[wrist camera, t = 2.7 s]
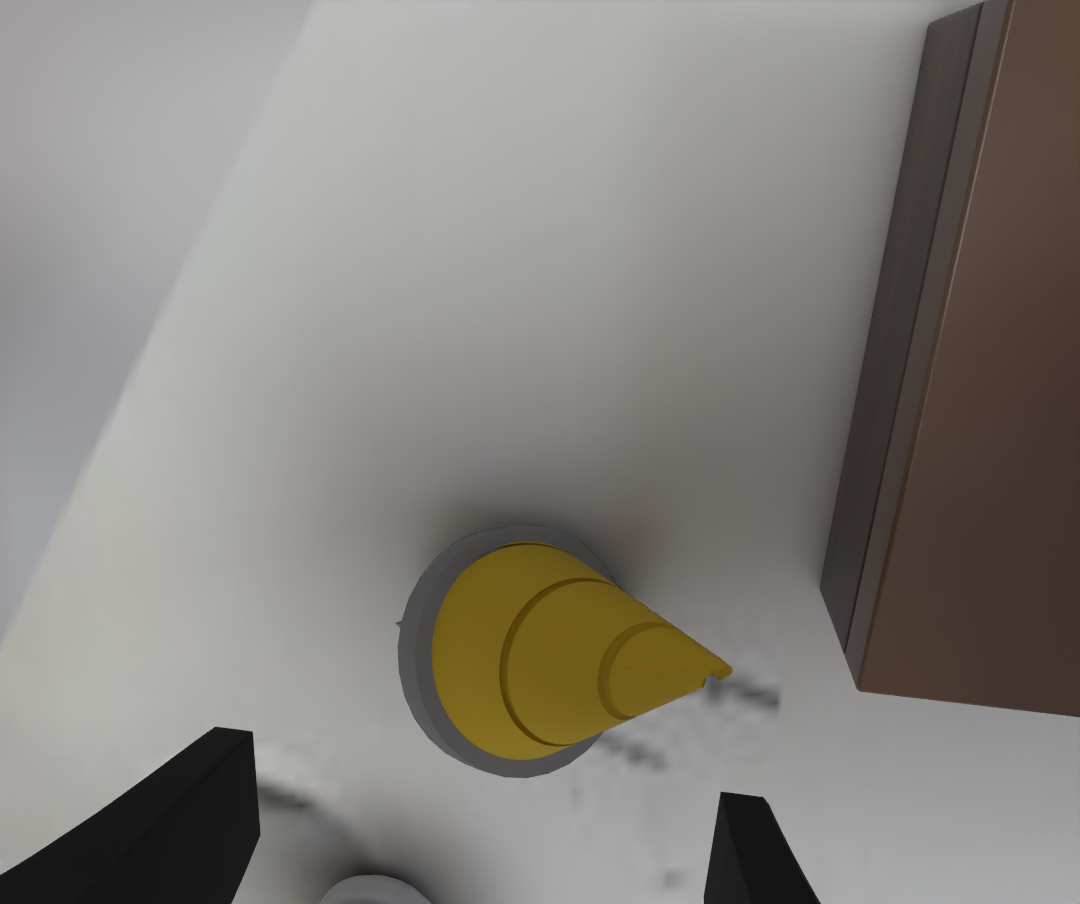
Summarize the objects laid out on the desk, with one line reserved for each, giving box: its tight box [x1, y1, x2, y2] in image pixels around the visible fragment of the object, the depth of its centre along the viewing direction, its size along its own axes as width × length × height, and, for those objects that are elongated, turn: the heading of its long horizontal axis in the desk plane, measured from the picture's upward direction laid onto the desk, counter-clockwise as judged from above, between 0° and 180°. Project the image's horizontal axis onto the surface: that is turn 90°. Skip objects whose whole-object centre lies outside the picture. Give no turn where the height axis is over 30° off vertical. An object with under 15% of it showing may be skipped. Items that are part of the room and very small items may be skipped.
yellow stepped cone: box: [396, 525, 732, 778], centre depth 18 cm, size 5×5×10 cm
